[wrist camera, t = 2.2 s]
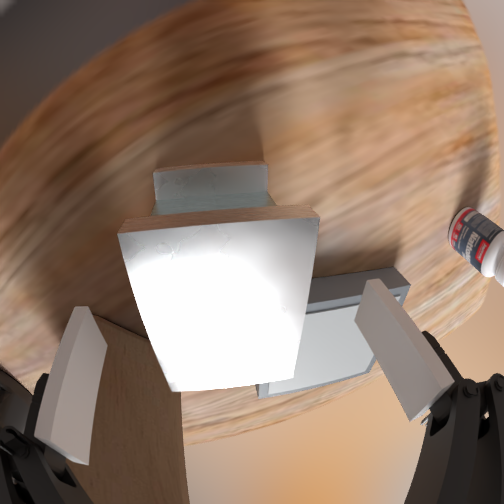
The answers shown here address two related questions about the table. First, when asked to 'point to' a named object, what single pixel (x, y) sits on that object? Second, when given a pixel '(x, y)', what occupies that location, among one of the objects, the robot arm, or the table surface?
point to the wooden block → (134, 428)
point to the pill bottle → (479, 242)
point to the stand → (334, 332)
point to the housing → (221, 275)
